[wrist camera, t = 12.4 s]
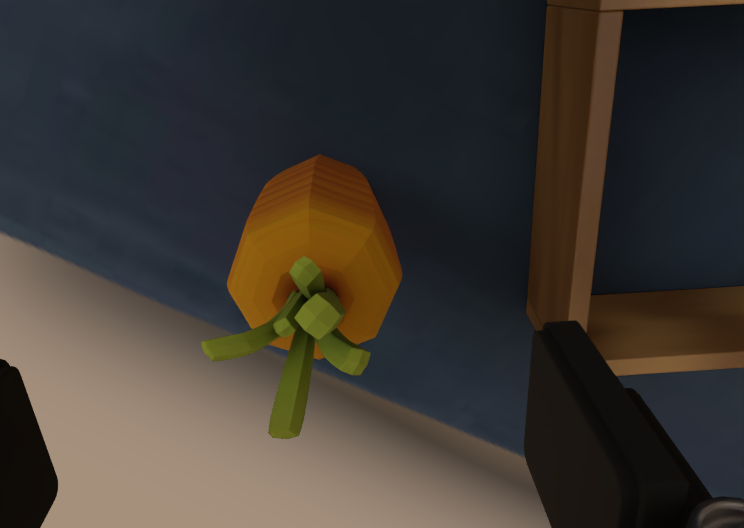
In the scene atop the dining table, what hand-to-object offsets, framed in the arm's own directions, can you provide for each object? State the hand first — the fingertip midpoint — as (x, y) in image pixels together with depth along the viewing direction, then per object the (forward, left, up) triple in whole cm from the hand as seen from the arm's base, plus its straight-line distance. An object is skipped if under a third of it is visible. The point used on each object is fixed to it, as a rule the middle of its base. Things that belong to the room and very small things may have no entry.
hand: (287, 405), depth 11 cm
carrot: (0, 0, -17) cm, 17 cm away
